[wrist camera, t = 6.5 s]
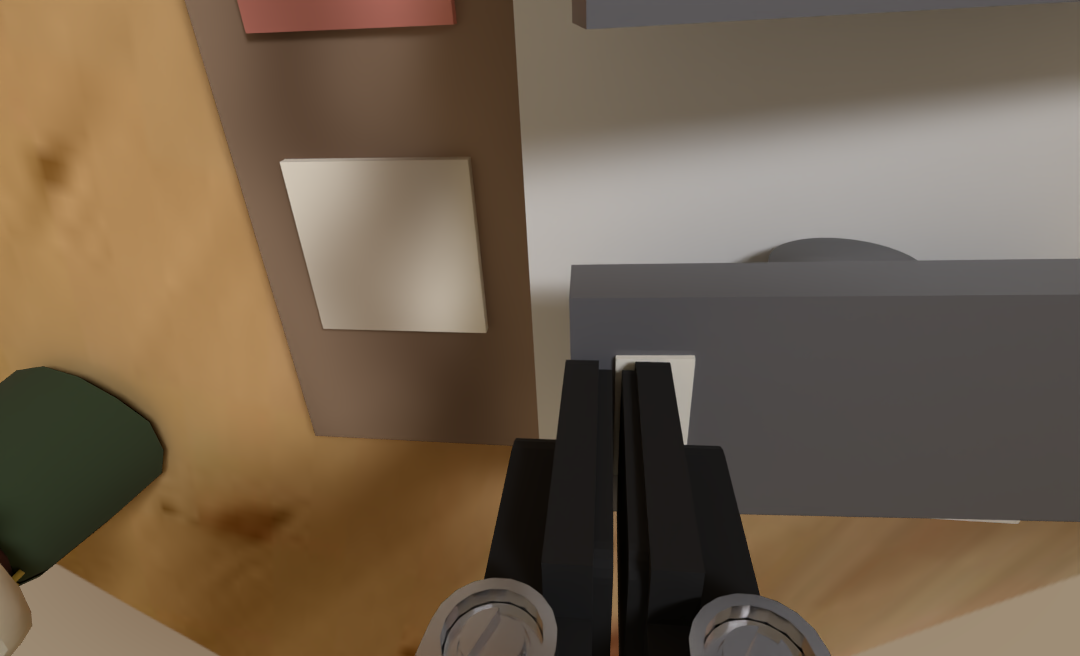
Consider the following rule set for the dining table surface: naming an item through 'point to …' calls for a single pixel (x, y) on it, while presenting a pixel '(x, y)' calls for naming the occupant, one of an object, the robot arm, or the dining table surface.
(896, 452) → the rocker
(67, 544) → the character mug
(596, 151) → the switch housing
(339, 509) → the dining table surface
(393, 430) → the chart board
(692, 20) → the rocker middle
